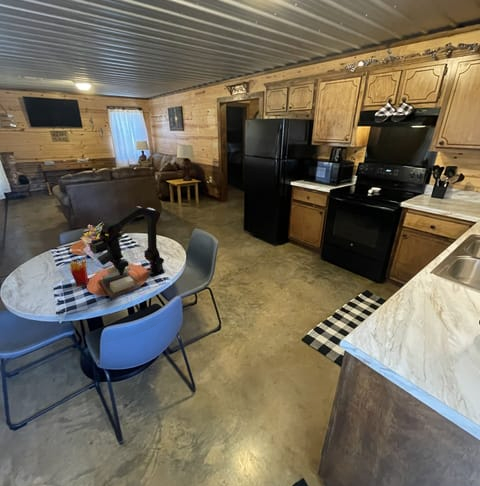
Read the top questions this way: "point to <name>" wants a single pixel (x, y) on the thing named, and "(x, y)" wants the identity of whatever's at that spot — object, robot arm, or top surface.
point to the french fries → (79, 272)
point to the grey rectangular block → (113, 278)
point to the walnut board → (119, 293)
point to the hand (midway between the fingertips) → (119, 273)
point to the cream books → (121, 284)
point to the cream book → (116, 271)
